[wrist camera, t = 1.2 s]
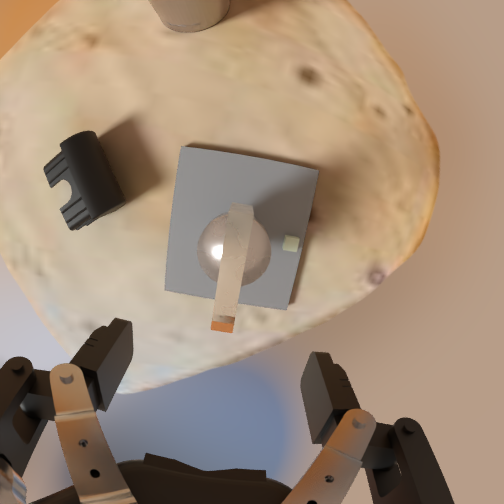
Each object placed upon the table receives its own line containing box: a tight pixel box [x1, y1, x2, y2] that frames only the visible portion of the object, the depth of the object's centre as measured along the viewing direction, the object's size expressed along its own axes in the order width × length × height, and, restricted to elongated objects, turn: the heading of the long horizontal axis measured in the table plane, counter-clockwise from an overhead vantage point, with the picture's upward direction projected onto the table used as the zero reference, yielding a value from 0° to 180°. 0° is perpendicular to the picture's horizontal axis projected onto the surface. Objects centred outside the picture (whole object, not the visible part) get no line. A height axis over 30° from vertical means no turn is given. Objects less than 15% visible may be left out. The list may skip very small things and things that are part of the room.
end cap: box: [44, 131, 126, 231], centre depth 29 cm, size 10×7×7 cm
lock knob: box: [197, 202, 271, 333], centre depth 25 cm, size 10×7×7 cm
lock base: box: [165, 146, 319, 310], centre depth 31 cm, size 18×16×6 cm
